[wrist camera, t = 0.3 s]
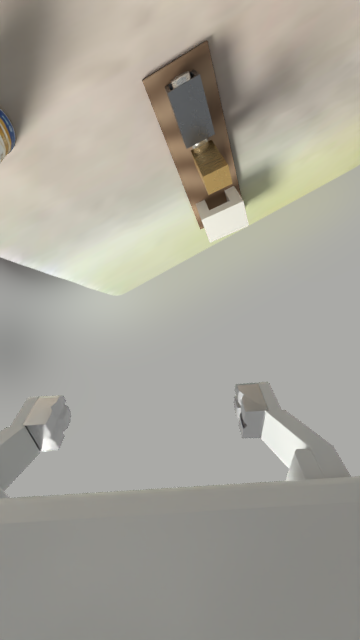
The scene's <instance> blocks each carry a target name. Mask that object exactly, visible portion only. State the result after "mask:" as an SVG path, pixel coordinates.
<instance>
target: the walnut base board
mask: <svg viewBox="0 0 360 640" xmlns="http://www.w3.org/2000/svg"><path fill="white" fill-rule="evenodd" d="M193 69H194V70H196V71H197V72H198V73H199V74H200V77H201V80H202V84H203V88H204V92H205V96H206V100H207V104H208V108H209V112H210V116H211V120H212V124H213V128H214V132H215V135H213V136H211V137H209V138H208V141H210V140H212V141H213V143H214V144H215V146H216V147H217V149H218V150H219V152H220V153H221V155H222V156H223V158H224V159H225V161H226V162H227V164H228V166H229V170H230V175H231V179H232V183H233V184H231V185H229V186H227V187H225V188H222V189H220V190H218V191H216V192H214V193H212V194H210V195H208V192H207V190H206V188H205V186H204V184H203V181H202V179H201V177H200V175H199V173H198V170H197V168H196V165H195V162H194V159H193V156H192V153H191V150H192V149H193V148H192V147H190V148H188V149H186V146H185V144H184V142H183V139H182V137H181V134H180V131H179V128H178V125H177V122H176V119H175V116H174V113H173V110H172V108H171V105H170V102H169V99H168V96H167V93H166V90H165V86H167V85H168V84H170V83H171V81H172V80H173V79H174V78H175V77H177V76H178V75H180V74H182V73H184V72H186V71H189V72H190V71H192V70H193ZM142 81H143V84H144V86H145V89H146V91H147V94H148V96H149V99H150V101H151V104H152V107H153V109H154V112H155V114H156V117H157V119H158V122H159V124H160V127H161V130H162V132H163V135H164V137H165V140H166V142H167V145H168V147H169V150H170V152H171V155H172V158H173V160H174V163H175V165H176V168H177V170H178V173H179V175H180V178H181V181H182V183H183V186H184V188H185V191H186V193H187V196H188V198H189V201H190V204H191V206H192V209H193V211H194V214H195V216H196V219H197V221H198V224H199V227H200V229H202V228H204V226H203V223H202V220H201V218H200V215H199V212H198V209H197V207H196V203H199V202H201V201H203V200H205V202H206V204H207V206H208V209H209V210H211V209H213V208H215V207H217V206H220V205H222V204H224V203H226V202H227V198H226V195H225V191H224V190H226V189H228V188H230V187H232V186H234V187H235V188H236V190H237V191H238V193H239V195H240V196H241V193H240V188H239V184H238V179H237V175H236V170H235V165H234V161H233V156H232V152H231V147H230V142H229V138H228V133H227V129H226V124H225V119H224V115H223V110H222V106H221V101H220V96H219V92H218V87H217V83H216V78H215V73H214V69H213V64H212V60H211V55H210V50H209V46H208V41H205V42H203V43H202V44H200V45H198V46H197V47H195V48H194V49H192V50H190V51H189V52H187V53H185V54H184V55H182V56H181V57H179V58H177V59H176V60H174V61H172V62H171V63H169V64H168V65H166V66H164V67H163V68H161V69H160V70H158V71H156V72H155V73H153V74H151V75H150V76H148V77H147V78H145V79H143V80H142Z"/></svg>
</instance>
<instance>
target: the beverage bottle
mask: <svg viewBox="0 0 360 640" xmlns="http://www.w3.org/2000/svg"><path fill="white" fill-rule="evenodd" d="M14 145H15V132H14V129H13V126H12V124H11V122H10V120H9V118H8V117H7V116H6V114H5V113H4V112H3V111H2V110H1V109H0V163H1V161H2V160H3V159H4V158H5V156H6V155H7V154H9V153H10V152H11V150H12V149H13V147H14Z"/></svg>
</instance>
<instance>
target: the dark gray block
mask: <svg viewBox="0 0 360 640" xmlns="http://www.w3.org/2000/svg"><path fill="white" fill-rule="evenodd" d="M189 73H190V77H191V79H189V80H188V81H186V82H184V83H183V84H181V85H179V86H178V87H176V88H174V89H173V87H172V84H171V83H170V84H168V85H167V86H165V90H166V93H167V96H168V99H169V102H170V105H171V108H172V110H173V113H174V116H175V119H176V122H177V125H178V128H179V131H180V134H181V137H182V139H183V142H184V144H185V146H186V149H188V148H190V147H192V146H194V145H196V144H198V143H199V142H201V141H203V140H205V139H207V138H209V137H211V136H213V135H215V132H214V128H213V124H212V120H211V116H210V112H209V108H208V104H207V100H206V96H205V92H204V88H203V84H202V80H201V77H200V74H199V73H198V72H197V71H196V70H194V69H193V70H192V71H190V72H189Z"/></svg>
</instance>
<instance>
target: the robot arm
mask: <svg viewBox="0 0 360 640" xmlns="http://www.w3.org/2000/svg"><path fill="white" fill-rule="evenodd" d="M235 392H236V396H235V397H234V407H235V413H236V416H237V418H238V419H239V428H240V432H241V435H242V438H261V439H262V440H263V441H264V442H265V443H266V444H267V446H268V447H269V448H270V449H271V450H272V451H273V452H274V453H275V454H276V455H277V456H278V457H279V459H280V460H281V461H282V462H283V463H284V464H285V465H286V466H287V467H288V468H289V472H288V475H287V478H286V481H274V482H260V483H242V484H227V485H211V486H194V487H178V488H161V489H146V490H130V491H114V492H98V493H82V494H67V495H66V494H65V495H50V496H33V497H17V498H9V497H8V495H7V494H6V493H5V492H4V491H5V490H6V489H7V488H8V486H9V485H10V484H11V483H12V482H13V481H14V480H15V479H16V478H17V477H18V476H19V475H20V474H21V472H23V471H24V469H25V468H26V467H27V466H28V465H29V464H30V463H31V462H32V461H33V460H34V459H35V458H36V457H37V456H38V455H39V454H40V451H51V450H59V448H60V446H61V443H62V441H63V439H64V434H63V431H65V430H66V429H67V428H68V426H69V423H70V418H71V413H70V409H69V407H68V406H66V405H65V402H66V400H65V398H64V396H40V397H29V398H28V399H27V400H26V401H25V403H24V405H23V406H22V408H21V410H20V411H19V413H18V414H17V416H16V418H15V419H14V421H13V423H12V424H11V426H10V427H6V428H5V429H4V430H2V431H1V432H0V640H360V476H355V477H351V476H350V474H349V472H348V471H347V469H346V467H345V465H344V464H343V462H342V460H341V458H340V457H339V455H338V453H337V452H336V450H335V448H334V447H333V446H332V445H331V444H330V443H329V442H327V441H326V440H325V439H323V438H322V437H321V436H319V435H318V434H317V433H315V432H314V431H312V430H311V429H310V428H308V427H307V426H306V425H305V424H303V423H302V422H301V421H299V420H298V419H297V418H295V417H294V416H292V415H291V414H290V413H289V412H287V411H286V410H281V407H280V405H279V403H278V401H277V399H276V397H275V395H274V393H273V390H272V388H271V386H270V383H268V382H261V383H260V382H259V383H246V384H236V386H235Z"/></svg>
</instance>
